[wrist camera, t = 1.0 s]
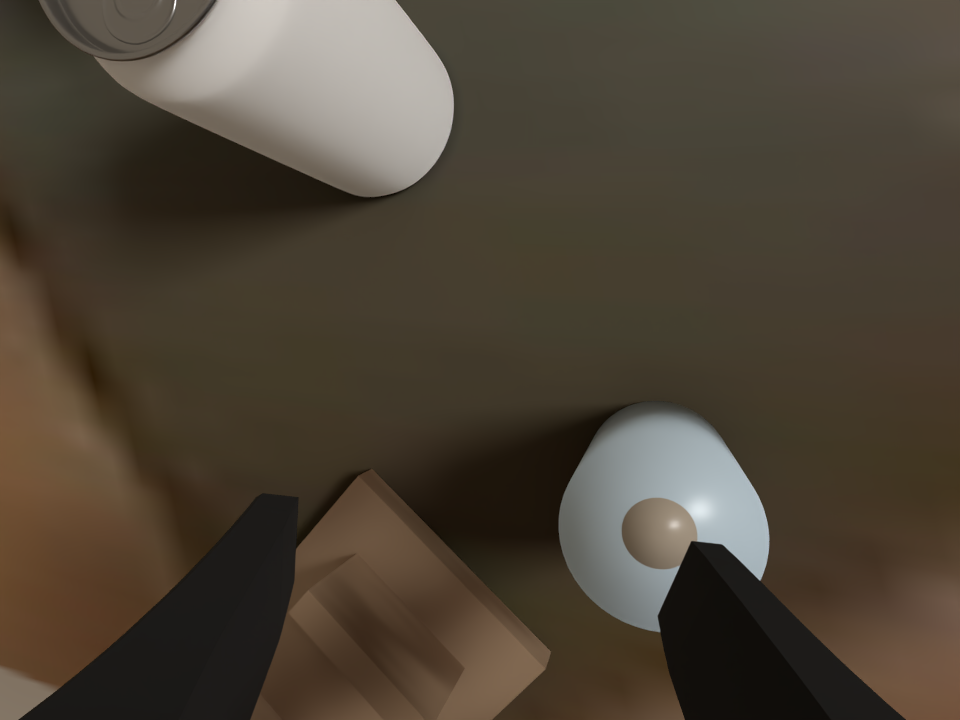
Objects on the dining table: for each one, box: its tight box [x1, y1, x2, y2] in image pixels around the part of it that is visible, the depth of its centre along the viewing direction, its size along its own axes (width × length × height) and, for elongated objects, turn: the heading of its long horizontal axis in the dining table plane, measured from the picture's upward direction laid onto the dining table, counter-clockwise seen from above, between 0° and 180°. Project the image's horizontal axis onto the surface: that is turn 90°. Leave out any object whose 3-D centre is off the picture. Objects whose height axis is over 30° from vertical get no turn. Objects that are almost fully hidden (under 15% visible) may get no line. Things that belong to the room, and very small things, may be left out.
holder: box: [250, 469, 551, 720], centre depth 23 cm, size 10×14×5 cm
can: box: [39, 0, 454, 197], centre depth 18 cm, size 6×6×12 cm
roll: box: [559, 401, 769, 632], centre depth 18 cm, size 5×5×7 cm
